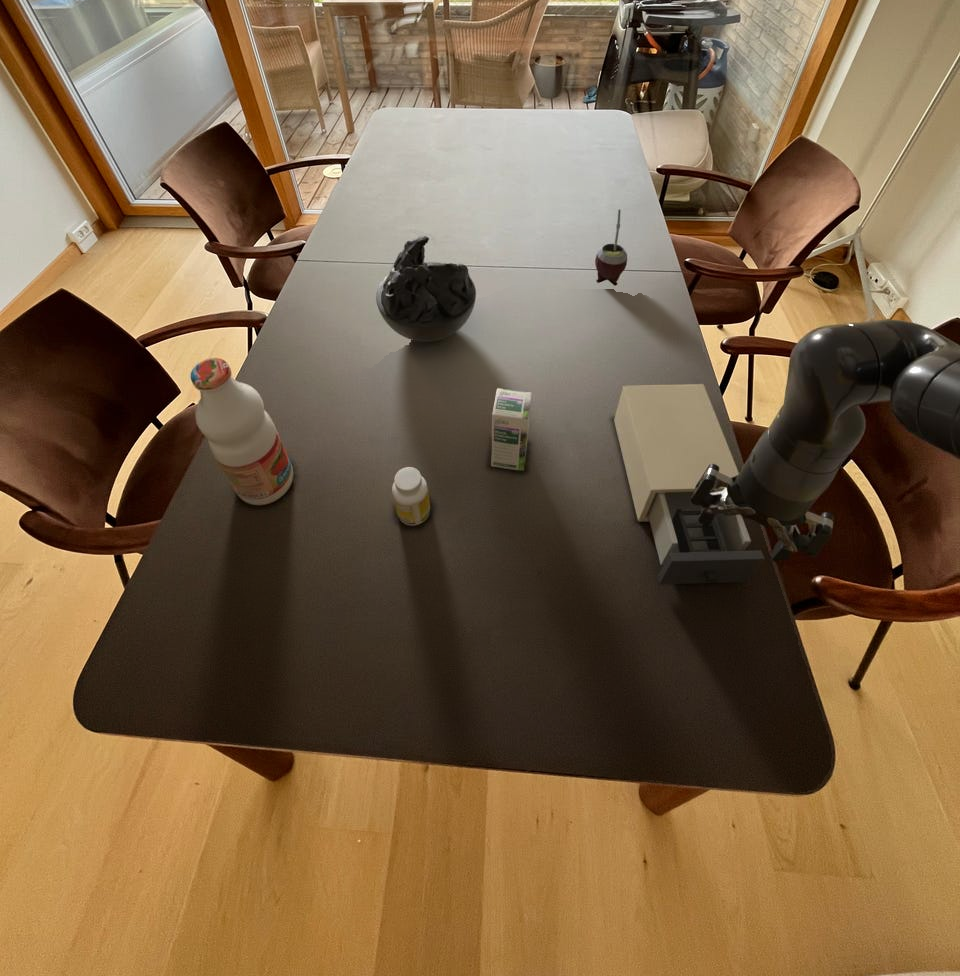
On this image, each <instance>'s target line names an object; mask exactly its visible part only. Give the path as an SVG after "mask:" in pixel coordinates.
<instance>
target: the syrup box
mask: <svg viewBox="0 0 960 976" xmlns="http://www.w3.org/2000/svg"><path fill="white" fill-rule="evenodd" d="M532 394H533V393H532V392H531V391H527V392H526V391H520V390H516V389H508V388H507V389H506V388H500V387H497V388H496V392H495V398H494V402H493V403H494V404H493V408H492V413H491V458H490V466H491V467H493V468H494V467H495V468H500V469H506V470H507V469H508V470H514V471H521V472H523V471H525V465H526V464H525V463H526V457H527V447H528V437H529V426H530V416H531V405H532V397H533V396H532Z"/></svg>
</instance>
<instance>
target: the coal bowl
mask: <svg viewBox="0 0 960 976" xmlns="http://www.w3.org/2000/svg"><path fill="white" fill-rule="evenodd" d="M429 241H430V238H429V236H427V235H420V236H418V237H417V238H413V239H409V240H407V241H406V242H405V243H404V245H403V249H402V250H401V251H400V252H399V253H398V255H397V257H396V259H395V261H394V263H393V265H392V267H391V269H390V272H389V274H387V275H386V276H385V277H384V278H383V279H382V280H381V282H380V283H379V285H378V288H377V290H376V293H375V302H376V306H377V308H378V311H379V313H380V315H381V318H382V319H383V320H384V321H385V323H386V324H387V325H388V326H389V327H390V328H391V329H392V331H394V332H396V334H397V335H400V336H402V337H404V338H406V339H408V340H411V341H415V342H421V343H431V342H437V341H441V340H444V339H446V338H449V337H451V336H453V335H454V334H455V333H457V332H458V331H459V330H460V329H461V328H462V327H463V326H464V325H465V324H466V323H467V321H468V320H469V318H470V316H471V315H472V313H473V310H474V307H475V304H476V299H477V290H476V286H475V283H474V281H473V279H472V278H471V276H470V274H469V269H468V268H469V267H468V266H467V265H465V264H463V263H452V262H448V263H446V262H438V261H425V257H426V256H425V255H426V253H425V252H426V248H425V246H426V244H428V243H429Z"/></svg>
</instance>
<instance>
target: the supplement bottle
mask: <svg viewBox="0 0 960 976" xmlns="http://www.w3.org/2000/svg"><path fill="white" fill-rule="evenodd" d="M391 494H392V499H393V503H394V506H395V512H396V514H397V517H398V519H399V521H401V522H402V523H403V524H405V525H407V526H418V525H421V524H422V523H424V522H425V521H426V520H427V519H428V518H429V516H430V512H431V502H430V496H429V495H430V494H429V488H428V484H427V481H426V479H425V478H424V477H423V476H422V475H421V472H420V471H419V470H418V469H417V468H415V467H412V466H406V467H403V468H400V469H399V470H398V471H397V472H396V474H395V475H394V481H393V484H392V487H391Z"/></svg>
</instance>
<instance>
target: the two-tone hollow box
mask: <svg viewBox="0 0 960 976" xmlns="http://www.w3.org/2000/svg"><path fill="white" fill-rule="evenodd" d="M713 492H719V491H710V492H709V493H713ZM693 494H694V492H665V493H656V494H655V496H654V498H653V501H652V503H651V505H650V508H649V510H648V512H647V513H648V517H649V521H648V522H649V524H650V528H651V533H652V536H653V540H654V544H655V549H656V551H657V555H658V559H659V563H660V566H662V567H661V569H660V571H659V573H658V575H657V581H658V585H688V584H689V585H691V584H692V585H693V584H722V583H725V584H727V583H747V581H748V580H749V579H750V578H751V576H752V575H753V574H754V572H755V571H756V570H757V569H758V568H759V566H760V565H761V564H762V563H763V562H764V560H765V555H764V554H763V551H762V550H746V549H747V548H748V547H749V545H750V544H751V543H752V540H751V537H750V534H749V532H748V529H747V527H746V524H745V521H744V517H743V516H741V514H740V515H732V516H725V515H724V514H723V513H722V514H715V517H714V521H715V523H716V526H717V529H718V532H719V535H720V538H721V540H722V543H723V546H724V549H725V552H690V553H680V551H679V548H678V541H677V538H676V534H675V531H674V527H673V523H672V519H673V517H674V515H675V513H676V511H677V509H681V511H701V510H702V508H703V507H702V506H701V505H699V506H697V505H694V504H693V503H691V498H692V496H693ZM718 503H719V502H718ZM699 516H700V515H685V516H683V517H684V520H685V524H694V523H700V522H699V520H698V519H699ZM687 530H688V533H689V536H690V537H700V536H704V534H703V531H702V528H687ZM691 543H692V546H693V549H694V550H709V549H708V546H707V543H706V541H691Z"/></svg>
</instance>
